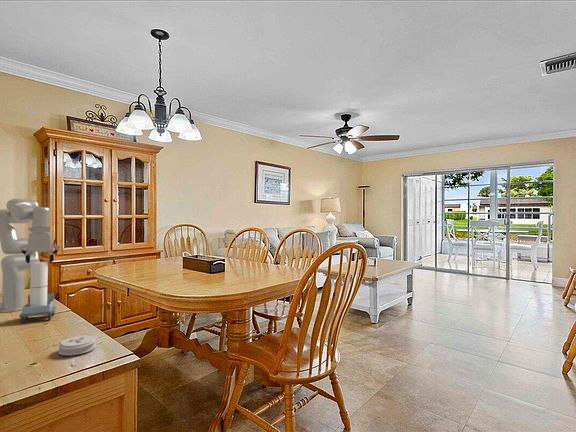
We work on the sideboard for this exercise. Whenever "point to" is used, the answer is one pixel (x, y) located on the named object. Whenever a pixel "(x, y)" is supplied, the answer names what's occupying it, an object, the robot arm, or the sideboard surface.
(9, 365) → the sideboard surface
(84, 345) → the lid
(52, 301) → the grey open box
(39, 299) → the cylindrical container
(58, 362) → the sideboard surface
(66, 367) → the sideboard surface
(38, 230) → the robot arm
